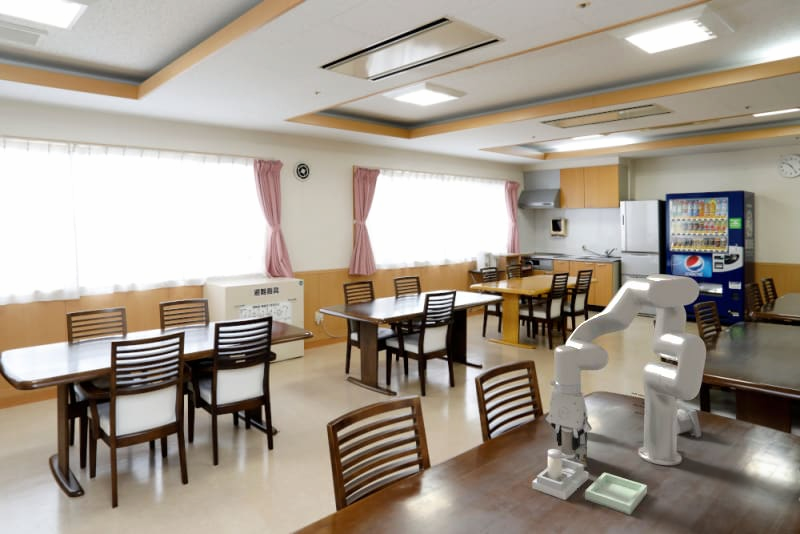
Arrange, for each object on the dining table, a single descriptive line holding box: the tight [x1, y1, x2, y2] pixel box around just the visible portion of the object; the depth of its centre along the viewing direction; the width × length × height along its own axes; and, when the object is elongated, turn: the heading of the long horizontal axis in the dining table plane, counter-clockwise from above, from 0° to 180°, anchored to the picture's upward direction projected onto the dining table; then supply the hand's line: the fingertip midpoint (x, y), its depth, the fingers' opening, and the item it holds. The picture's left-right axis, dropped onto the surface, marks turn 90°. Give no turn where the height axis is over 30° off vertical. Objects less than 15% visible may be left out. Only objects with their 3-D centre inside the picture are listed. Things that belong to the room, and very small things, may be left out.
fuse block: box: [531, 448, 589, 501], centre depth 151 cm, size 16×10×11 cm, turn 138°
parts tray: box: [584, 472, 648, 516], centre depth 143 cm, size 14×12×2 cm
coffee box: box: [564, 415, 589, 468], centre depth 165 cm, size 9×6×16 cm
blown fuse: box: [560, 426, 575, 459], centre depth 153 cm, size 4×4×9 cm
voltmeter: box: [631, 392, 702, 439], centre depth 192 cm, size 27×11×10 cm, turn 39°
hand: (568, 446), depth 153 cm, fingers closed on blown fuse, 4 cm apart
